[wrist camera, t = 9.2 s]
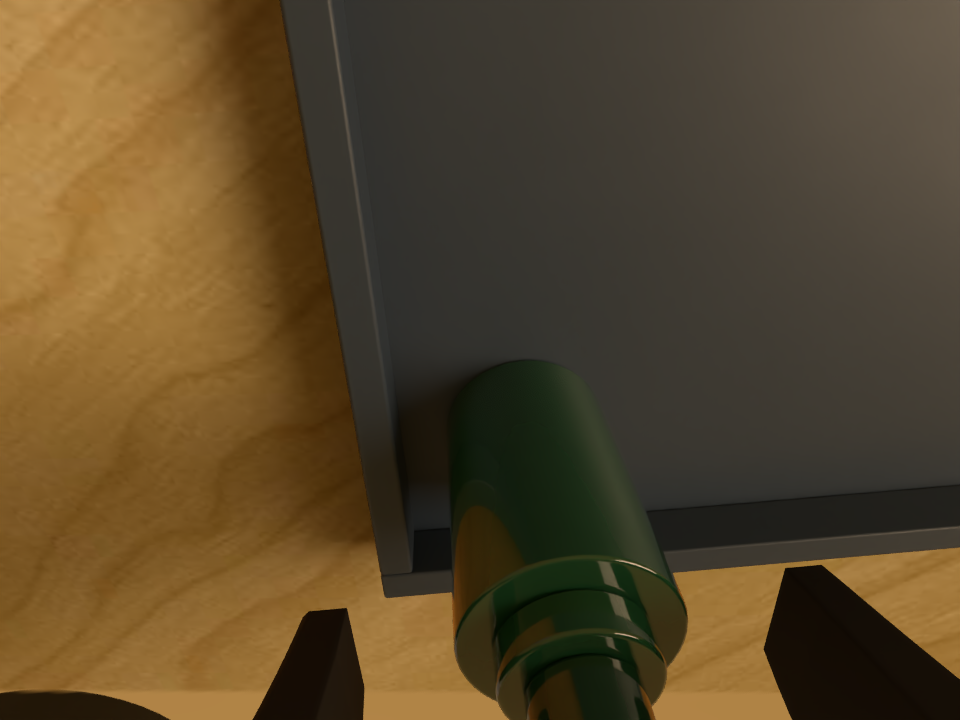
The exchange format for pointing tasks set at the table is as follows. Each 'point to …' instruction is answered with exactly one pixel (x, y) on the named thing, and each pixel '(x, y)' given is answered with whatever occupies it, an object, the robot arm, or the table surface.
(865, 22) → the tray
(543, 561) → the bottle
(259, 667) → the table surface
